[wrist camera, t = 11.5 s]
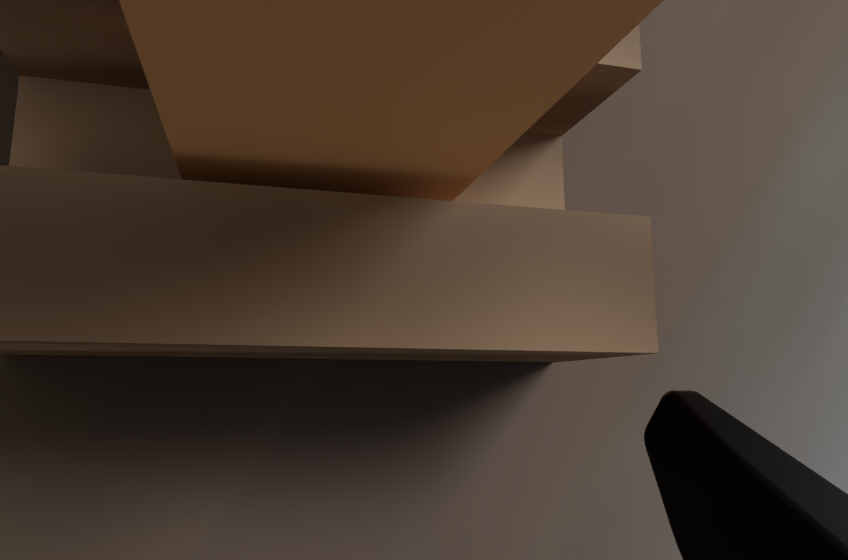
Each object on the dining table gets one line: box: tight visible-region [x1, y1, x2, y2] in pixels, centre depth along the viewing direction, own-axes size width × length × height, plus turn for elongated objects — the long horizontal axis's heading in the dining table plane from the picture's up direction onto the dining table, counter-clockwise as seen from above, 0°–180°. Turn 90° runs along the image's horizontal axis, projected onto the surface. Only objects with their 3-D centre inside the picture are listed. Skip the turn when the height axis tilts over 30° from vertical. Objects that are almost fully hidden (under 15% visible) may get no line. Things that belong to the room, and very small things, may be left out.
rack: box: [0, 0, 659, 362], centre depth 16 cm, size 16×14×5 cm
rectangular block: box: [119, 0, 663, 201], centre depth 11 cm, size 2×6×12 cm, turn 91°
